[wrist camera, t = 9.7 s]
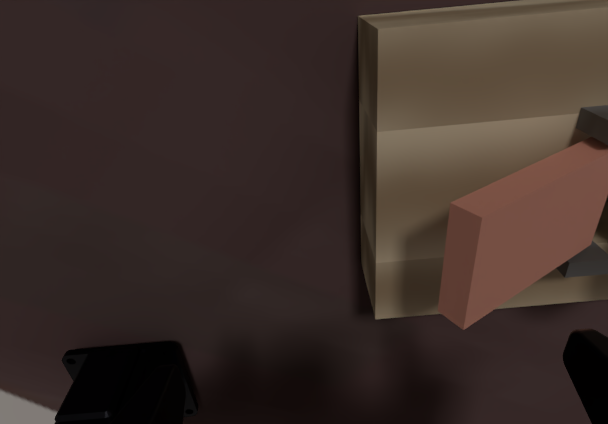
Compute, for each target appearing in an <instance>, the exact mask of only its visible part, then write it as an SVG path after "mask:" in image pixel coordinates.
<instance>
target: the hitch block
mask: <svg viewBox="0 0 608 424" xmlns="http://www.w3.org/2000/svg"><path fill="white" fill-rule="evenodd" d="M358 55H359V129H360V202H361V265H362V269H363V273H364V276H365V280H366V284H367V288H368V292H369V296H370V300H371V304H372V308H373V312H374V316H375V319H385V318H397V317H409V316H420V315H432V314H441V313H440V312H439V311H438V304H439V295H440V287H441V278H442V270H443V261H444V253H445V244H446V236H447V227H448V219H449V210H450V203H451V202H453V201H455V200H457V199H459V198H461V197H464V196H466V195H468V194H470V193H472V192H474V191H476V190H478V189H481V188H483V187H485V186H487V185H489V184H491V183H493V182H496V181H498V180H500V179H502V178H504V177H506V176H508V175H511V174H513V173H515V172H517V171H519V170H521V169H523V168H526V167H528V166H530V165H532V164H534V163H536V162H538V161H541V160H543V159H545V158H547V157H549V156H551V155H553V154H556V153H558V152H560V151H562V150H564V149H566V148H568V147H571V146H573V145H575V144H577V143H579V142H581V141H583V140H586V139H588V138H590V137H594V138H595V139H597V140H599V141H601V142H603V143H605V144H606V145H608V0H520V1H509V2H499V3H488V4H478V5H468V6H457V7H447V8H436V9H426V10H415V11H405V12H395V13H384V14H374V15H363V16H358ZM605 299H608V196H607V199H606V202H605V205H604V208H603V211H602V213H601V216H600V219H599V222H598V225H597V228H596V231H595V234H594V237H593V240H592V243H591V245H590V246H588V247H587V248H585V249H584V250H582V251H581V252H579V253H578V254H576V255H575V256H573V257H572V258H570V259H569V260H567V261H566V262H564V263H563V264H561V265H560V266H558V267H557V268H555V269H554V270H552V271H551V272H549V273H548V274H546V275H545V276H543V277H542V278H540V279H539V280H537V281H536V282H534V283H533V284H531V285H530V286H528V287H527V288H525V289H524V290H523V291H521V292H520V293H518V294H517V295H515V296H514V297H512V298H511V299H509V300H508V301H506V302H505V303H503V304H502V305H500V306H499V307H497V308H496V309H501V308H513V307H524V306H536V305H547V304H559V303H570V302H582V301H594V300H605Z"/></svg>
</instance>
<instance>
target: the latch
mask: <svg viewBox="0 0 608 424" xmlns="http://www.w3.org/2000/svg"><path fill="white" fill-rule="evenodd" d="M607 196H608V145H606V144H605V143H603V142H601V141H599V140H597V139H595V138H594V137H590V138H588V139H586V140H583V141H581V142H579V143H577V144H575V145H573V146H571V147H568V148H566V149H564V150H562V151H560V152H558V153H556V154H553V155H551V156H549V157H547V158H545V159H543V160H541V161H538V162H536V163H534V164H532V165H530V166H528V167H526V168H523V169H521V170H519V171H517V172H515V173H513V174H511V175H508V176H506V177H504V178H502V179H500V180H498V181H496V182H493V183H491V184H489V185H487V186H485V187H483V188H481V189H478V190H476V191H474V192H472V193H470V194H468V195H466V196H464V197H461V198H459V199H457V200H455V201H453V202H451V203H450V210H449V219H448V227H447V236H446V244H445V253H444V261H443V270H442V278H441V287H440V295H439V304H438V311H439V312H440V313H441V314H443V315H444V316H445V317H447V318H448V319H449V320H451V321H452V322H453V323H455V324H456V325H457V326H459V327H460V328H461V329H463V330H464V329H466V328H467V327H469V326H470V325H472V324H473V323H475V322H476V321H478V320H479V319H481V318H482V317H484V316H485V315H487V314H488V313H490V312H491V311H493V310H494V309H496V308H497V307H499V306H500V305H502V304H503V303H505V302H506V301H508V300H509V299H511V298H512V297H514V296H515V295H517V294H518V293H520V292H521V291H523V290H524V289H525V288H527V287H528V286H530V285H531V284H533V283H534V282H536V281H537V280H539V279H540V278H542V277H543V276H545V275H546V274H548V273H549V272H551V271H552V270H554V269H555V268H557V267H558V266H560V265H561V264H563V263H564V262H566V261H567V260H569V259H570V258H572V257H573V256H575V255H576V254H578V253H579V252H581V251H582V250H584V249H585V248H587V247H588V246H590V245H591V243H592V240H593V237H594V234H595V231H596V228H597V225H598V222H599V219H600V216H601V213H602V211H603V208H604V205H605V202H606V199H607Z"/></svg>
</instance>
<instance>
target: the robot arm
mask: <svg viewBox="0 0 608 424" xmlns="http://www.w3.org/2000/svg"><path fill="white" fill-rule="evenodd" d="M168 350H169V351H168ZM563 361H564V365H565V367H566V369H567V371H568V373H569V376H570V378H571V380H572V382H573V384H574V386H575V388H576V391H577V393H578V395H579V397H580V399H581V401H582V403H583V406H584V408H585V410H586V412H587V414H588V416H589V419H590V421H591V423H592V424H608V337H606V336H604V335H603V334H601V333H599V332H598V331H596V330H593V329H578V330H573V331H572V332H571V333H570V336H569V338H568V341H567V344H566V347H565V349H564V352H563ZM62 362H63V364H64V366H65V367H66V369H67V371H68V373H69V374H70V376H71V378H72V379H73V381H74V382H73V384H72V386H71V387H70V389H69V391H68V393H67V395H66V397H65V399H64V401H63V403H62V405H61V407H60V409H59V411H58V413H57V414H56V416H55V421H56V422H55V424H183V417H189V416H194V415H196V414H197V411H198V403H197V400H196V397H195V394H194V392H193V389H192V386H191V383H190V380H189V378H188V375H187V372H186V369H185V366H184V364H183V361H182V358H181V355H180V352H179V349H178V347H177V345H176V344H174V343H172V342H156V343H145V344H133V345H121V346H110V347H98V348H87V349H75V350H68V351H67V352H66V353H65V355H64V356H63V358H62Z"/></svg>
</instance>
